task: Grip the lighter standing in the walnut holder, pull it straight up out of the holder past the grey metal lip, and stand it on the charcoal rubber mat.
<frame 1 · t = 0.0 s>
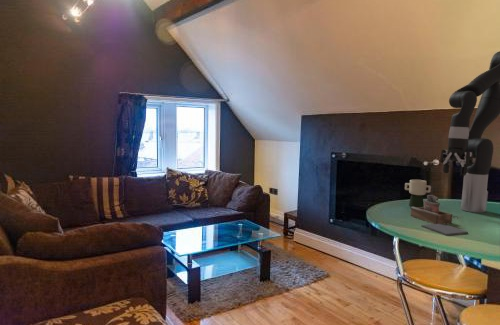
hand: (454, 174, 154), 17 cm above the table, tool pointing down, fingers open, 8 cm apart
lighter: (430, 220, 142), resting in holder
mat: (444, 229, 127), on the table
holder: (430, 219, 142), on the table
character mug: (416, 208, 162), on the table
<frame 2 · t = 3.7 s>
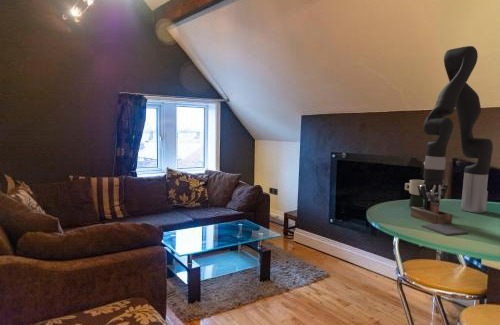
hand: (431, 209, 141), 4 cm above the table, tool pointing down, fingers closed on lighter, 4 cm apart
lighter: (430, 219, 142), resting in holder, touching gripper
everything else where it was.
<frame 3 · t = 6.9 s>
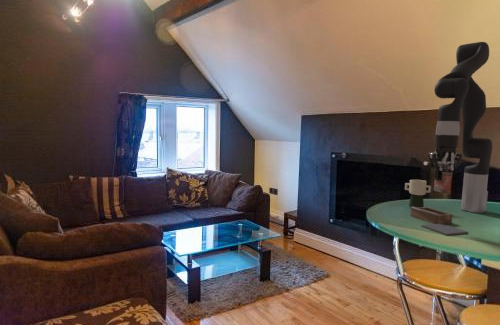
hand: (442, 180, 128), 18 cm above the table, tool pointing down, fingers closed on lighter, 4 cm apart
lighter: (441, 192, 129), point 13 cm above the table, touching gripper
everything else where it was.
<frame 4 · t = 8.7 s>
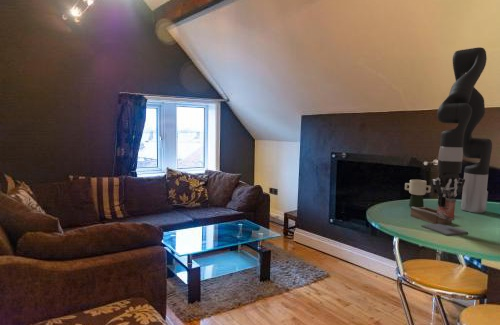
hand: (446, 206, 126), 9 cm above the table, tool pointing down, fingers closed on lighter, 4 cm apart
lighter: (444, 218, 127), point 4 cm above the table, touching gripper
everything else where it was.
when the fingers open (6 cm above the table, at t = 10.1 s): lighter stays where it is, resting on mat.
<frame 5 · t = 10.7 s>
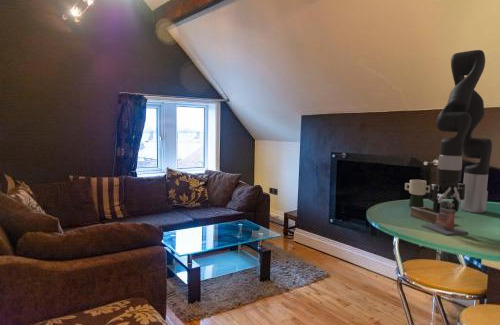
hand: (445, 212, 126), 7 cm above the table, tool pointing down, fingers open, 8 cm apart
lighter: (444, 228, 127), resting on mat
everything else where it was.
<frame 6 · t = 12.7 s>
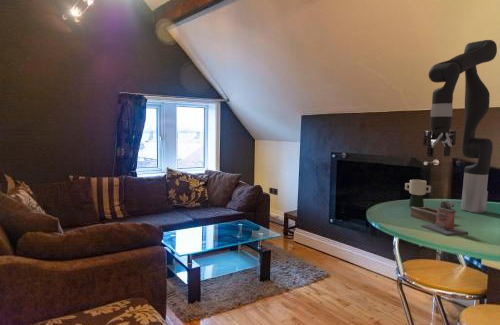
hand: (438, 156, 138), 26 cm above the table, tool pointing down, fingers open, 8 cm apart
nothing on the table moved.
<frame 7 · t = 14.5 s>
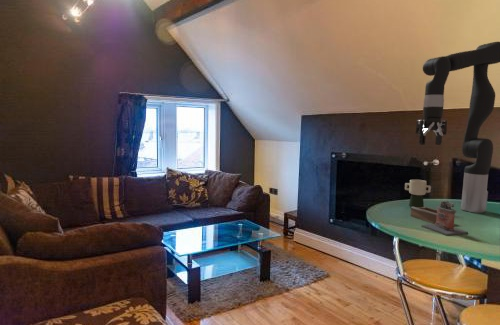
hand: (430, 144, 148), 30 cm above the table, tool pointing down, fingers open, 8 cm apart
nothing on the table moved.
at the end: lighter inside the target area on the mat (0.2 cm from its centre), point 0.4 cm above the mat's base; lighter tilted 0°; the gripper is holding nothing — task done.
